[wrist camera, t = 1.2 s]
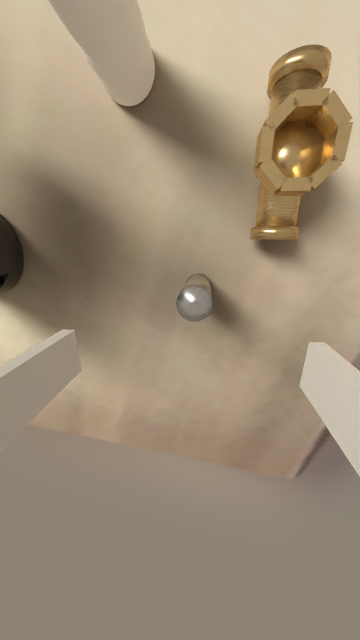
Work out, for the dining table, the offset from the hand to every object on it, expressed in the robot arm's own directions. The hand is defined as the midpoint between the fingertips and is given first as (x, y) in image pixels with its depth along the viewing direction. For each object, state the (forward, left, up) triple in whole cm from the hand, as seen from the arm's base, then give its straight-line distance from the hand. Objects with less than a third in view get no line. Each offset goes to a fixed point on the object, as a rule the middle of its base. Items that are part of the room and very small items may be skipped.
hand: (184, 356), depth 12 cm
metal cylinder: (0, 0, -25) cm, 25 cm away
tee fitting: (+10, +16, -24) cm, 31 cm away
